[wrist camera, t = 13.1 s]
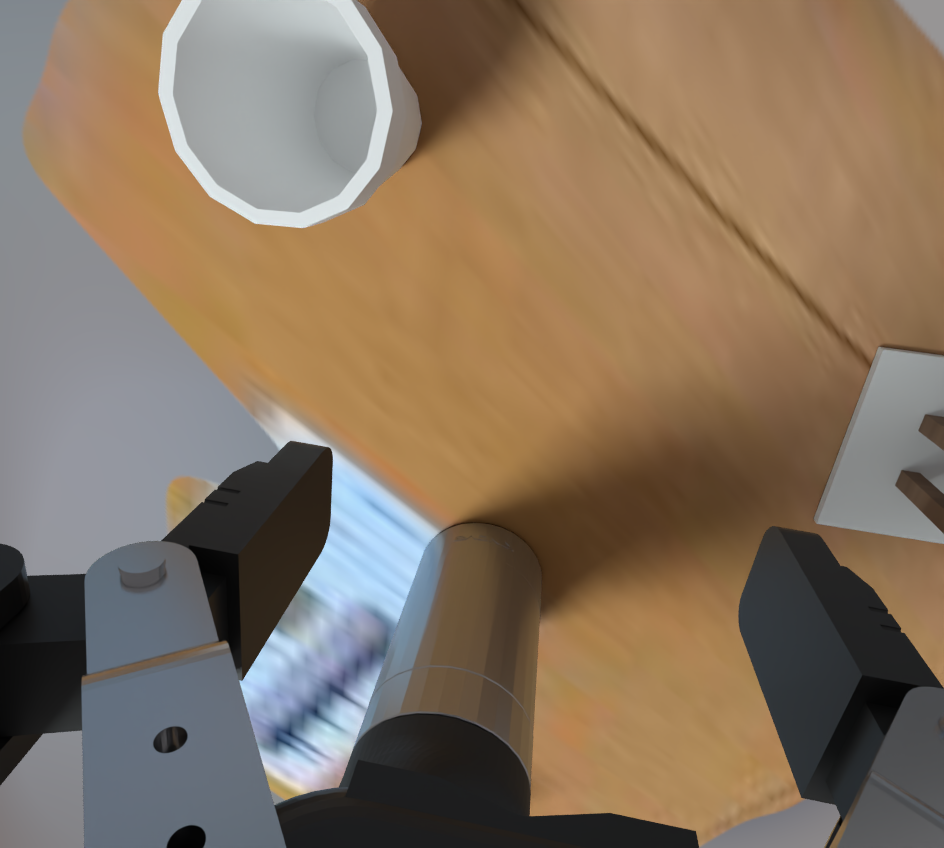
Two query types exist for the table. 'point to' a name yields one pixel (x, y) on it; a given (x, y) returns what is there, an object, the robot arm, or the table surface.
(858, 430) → the mat
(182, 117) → the foam cup
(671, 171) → the table surface
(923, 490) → the stool
